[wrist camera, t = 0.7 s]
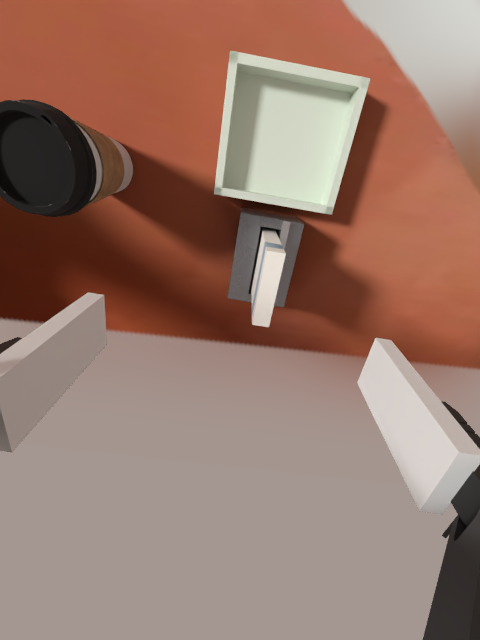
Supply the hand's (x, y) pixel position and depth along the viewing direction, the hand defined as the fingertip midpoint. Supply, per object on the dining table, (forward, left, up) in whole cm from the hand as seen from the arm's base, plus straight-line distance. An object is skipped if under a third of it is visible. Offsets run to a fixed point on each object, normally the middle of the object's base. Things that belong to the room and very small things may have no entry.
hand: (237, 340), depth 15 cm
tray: (+3, +11, -27) cm, 29 cm away
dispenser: (+3, -2, -27) cm, 27 cm away
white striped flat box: (+3, -2, -26) cm, 26 cm away
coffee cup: (-17, +5, -27) cm, 33 cm away
